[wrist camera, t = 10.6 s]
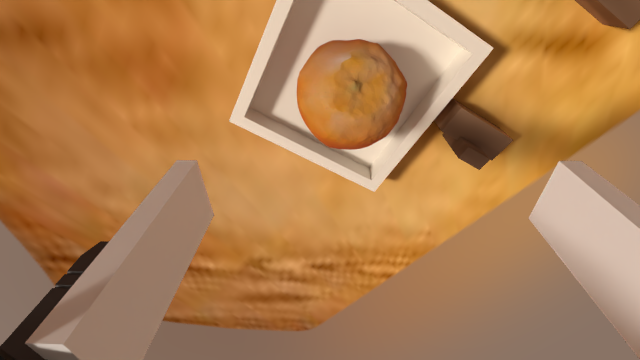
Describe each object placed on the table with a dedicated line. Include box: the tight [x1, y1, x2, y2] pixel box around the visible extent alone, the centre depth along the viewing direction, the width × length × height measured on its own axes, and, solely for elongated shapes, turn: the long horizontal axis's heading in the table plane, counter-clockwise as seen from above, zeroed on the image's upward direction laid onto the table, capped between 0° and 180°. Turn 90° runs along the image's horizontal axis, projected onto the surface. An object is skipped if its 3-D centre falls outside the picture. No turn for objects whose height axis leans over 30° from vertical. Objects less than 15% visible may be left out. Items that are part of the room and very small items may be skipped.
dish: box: [229, 0, 494, 191], centre depth 24 cm, size 15×15×3 cm
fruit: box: [297, 39, 407, 150], centre depth 23 cm, size 8×8×8 cm
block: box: [434, 0, 640, 170], centre depth 23 cm, size 16×6×4 cm, turn 151°
